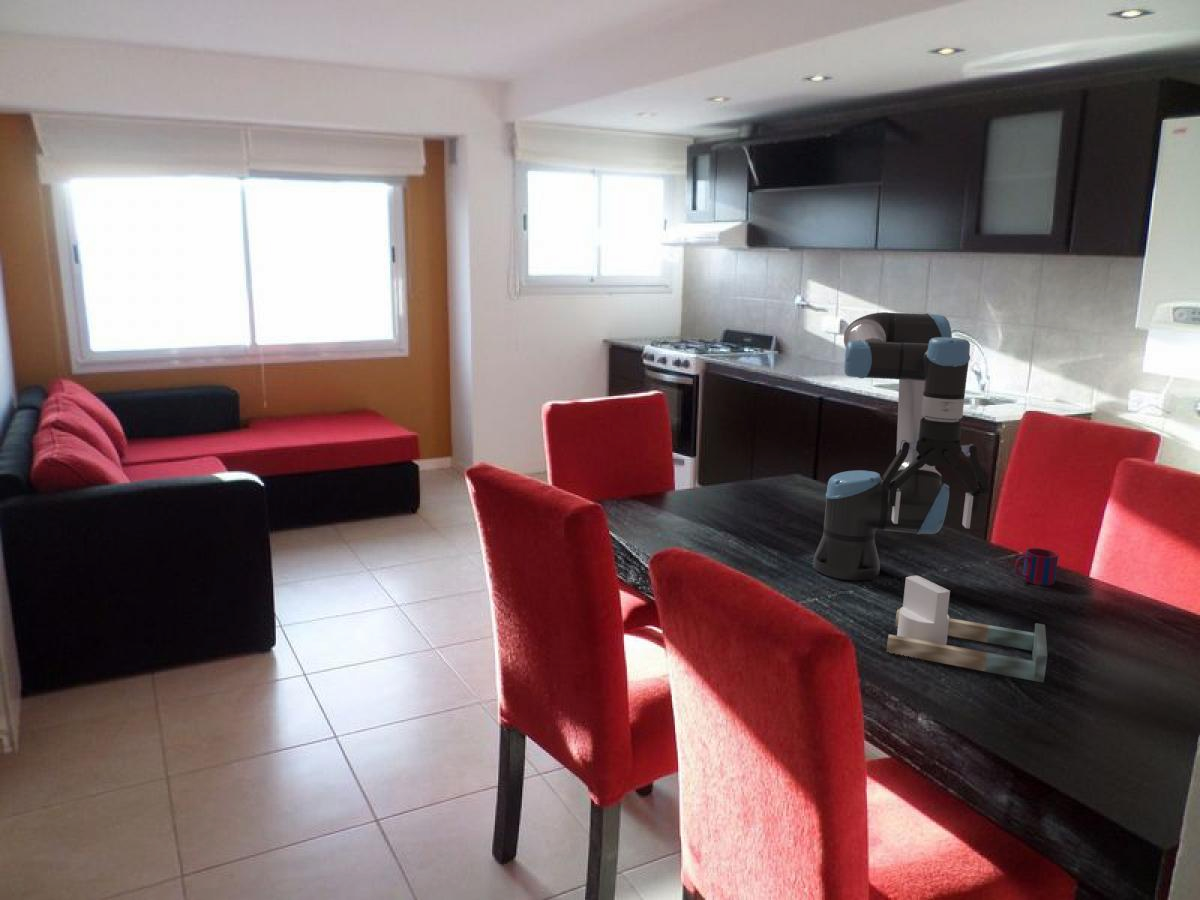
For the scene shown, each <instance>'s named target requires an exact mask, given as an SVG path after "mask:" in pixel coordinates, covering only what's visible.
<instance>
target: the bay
mask: <svg viewBox="0 0 1200 900" xmlns="http://www.w3.org/2000/svg"><path fill="white" fill-rule="evenodd" d="M899 611H900V608H898V609H897V611H896V615H895V622H894V623H895V625H894V626H895V627H898V621H899ZM948 636H949V637H953V638H959V639H967V640H969V641H970V640H972V641H977V642H982V643H988V644H993V645H998V646H1005V647H1010V648H1015V649H1019V650H1020V649H1021V650H1026V651H1032V660H1030V659H1024V658H1018V657H1014V656H1013V657H1012V656H1009V655H1003V654H997V653H993V652H986V651H981V650H977V649H970V648H965V647H961V646H959V647H958V646H955V645H948V644H946V645H944V644H939V643H934V642H928V641H923V640H917V639H912V638H907V637H901V636H897V634H895V635H894V634H888V637H887V644H886V645H887V646H886V653H887V652H889V653H888V654H893V653H895V654H894V655H898V654H900V655H899V656H903V655H904V657H908V656H909V657H910V658H913V657H914V658H913V659H918V658H919V659H920V660H924V661H929V662H930V661H931V662H935V663H940V664H946V665H948V666H949V665H951V666H956V667H960V668H961V667H962V668H966V669H971V670H976V671H981V672H987V673H992V674H997V675H1003V676H1008V677H1013V678H1017V679H1023V680H1027V681H1031V682H1032V681H1033V682H1037V683H1038V682H1039V683H1044V682H1045V677H1046V668H1047V663H1048V662H1047V661H1048V648H1047V647H1048V646H1047V645H1048V644H1047V635H1046V624H1043V623H1035V624H1034V632H1033V631H1031V632H1030V631H1025V630H1019V629H1013V628H1008V627H1003V626H996V625H990V624H984V623H980V622H974V621H968V620H962V619H957V618H956V619H955V618H950V617H949V626H948V635H947V637H948Z"/></svg>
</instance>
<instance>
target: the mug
mask: <svg viewBox="0 0 1200 900" xmlns="http://www.w3.org/2000/svg"><path fill="white" fill-rule="evenodd" d="M1023 559H1024V564H1023V570H1022V572H1023V573H1021V572H1020V570H1019V569H1020V568H1019V566H1020V562H1021V561H1022V560H1023ZM1058 560H1059V554H1058V553H1057V552H1056V551H1054V550H1050V549H1046V548H1039V547H1030V548H1027V549H1026V550H1025V555H1020V556H1018V557H1017V558H1016V559H1015V563H1014V572H1015V573H1016V574H1017V575H1018V576H1020V577H1021V578H1022V580H1023V581H1024V582H1027V583H1029V584H1032V585H1037V586H1047V587H1048V586H1054V584H1055V582H1056V581H1055V580H1056V575H1057V574H1056V573H1057V568H1058V567H1057V566H1058Z"/></svg>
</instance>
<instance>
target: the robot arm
mask: <svg viewBox="0 0 1200 900" xmlns="http://www.w3.org/2000/svg"><path fill="white" fill-rule="evenodd" d="M843 344H844V347H845V352H844V353H845V354H844V370H843V371H844V374H845V375H846V376H847V377H853V378H858V379H887V380H888V379H890V380H898V401H897V403H898V405H897V406H898V408H897V429H896V455H895V457H894V458H893V460H892V462H891V463H890V464H889V466H888V467H887V469H886V470H885V472H884V474H883V475H882V477H881V474H880V473H878V472H876V471H871V470H870V471H869V470H862V469H860V470H858V469H857V470H848V471H841V472H839V473H835V474H833V475H832V476H831V477H830V478H829V479H828V481H827V487H826V488H827V489H826V493H825V499H826V501H825V512H824V520H823V521H824V523H823V532H822V533H823V535H822V537H821V539H820V542H819V544H818V546H817V548H816V551H815V553H814V555H813V561H812V567H813V569H814V570H815V571H816V572H817V573H818V572H819V574H822V575H825V576H826V577H831V578H835V579H839V580H846V581H847V580H848V581H866V580H872V579H874V578H876V577H878V575H880V570H881V569H880V567H881V563H880V559H879V554H878V550H877V546H876V541H875V540H876V539H875V537H876V531H885V532H886V531H888V532H898V533H908V534H909V533H910V534H916V535H920V534H921V535H922V534H924V535H927V534H928V535H934V534H937V533H939V532H940V531H941V529H942V527H943V524H944V522H945V519H946V514H947V510H948V505H949V499H950V486H949V485H948V484H946V483H945V482H944V483H942V482H943V481H942V480H943V478H942V477H943V476H942V474H941V473H940V472H939V471H938V470H937V469H936V466H938V467H942V468H946V467H948V466H951V468H952V469H953V470H954V471H955V473H956V474H957V475H958V477H959V478H960V480H961V481H962V482H963V484H964V485H965V486H966V487H967V488H968V490H969V492H965V496H964V497H965V498H964V506H963V515H962V523H961V524H962V526H963V527H964V528H965V529H970V528H971V521H972V512H977V510H978V505H979V498H980V496H981V495H982V494H988V493H990V490H991V489H990V486H989V483H988V481H987V479H986V477H985V474H984V472H983V469H982V467H981V464H980V461H979V460H978V452H977V451H978V450H977V449H978V448H977V447H976V445H974V444H973V443H970V442H969V443H968V444H961V435H962V427H963V426H962V425H963V424H962V423H963V422H961V420H960V419H962V418H963V414H964V404H965V396H966V395H965V394H966V387H967V385H966V384H967V378H968V373H969V372H968V371H969V370H968V369H969V362H970V361H971V355H970V351H971V350H970V349H971V344H970V341H969V340H967V339H966V338H960V337H959V338H958V337H953V336H952V329H951V324H950V322H949V320H948V318H947V317H946V316H944V315H940V314H931V313H927V312H926V313H909V312H908V313H906V312H904V313H901V312H887V311H885V312H884V311H883V312H882V311H881V312H874V313H870V314H866V315H864V316H863V315H862V316H861V317H859V318H857V319H855V320H854V321H852V322H851V323H850V324H849V325H848V326H847V327H846V330H845V332H844V335H843ZM962 452H963V455H964V456H966V457H967V459H968V462H969V464H970V466H971V469H972V472H973V473H974V476H975V480H976V482H977V484H978V486H976V485H975V483H974V482H973V481H972V480H971V478H970V477H969V476H968V474H967V473H966V471H965V470H964V468H963V467H962V466H961V465H960V464H959V462H958V461H957V460H956V458H957V457H958V456H959V455H960V454H961V453H962Z"/></svg>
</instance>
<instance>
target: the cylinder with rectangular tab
mask: <svg viewBox="0 0 1200 900" xmlns="http://www.w3.org/2000/svg"><path fill="white" fill-rule="evenodd" d="M904 582H905V583H904V591H903V592H904V593H903V602H902V607H900V608H899V609H900V611H899V621H898V626H897V630H896V631H897V633H896V636H901V637H907V638H912V639H917V640H923V641H928V642H934V643H939V644H944V645H948V644H947V642H948V626H949V618H950V615H949V614H948V612H949V604H950V596H951V595H950V594H951V590H949V589H947V588H945V587H943V586H942V585H938V584H937V583H935V582H932V581H931V580H928V579H926V578H924V577H922V576H920V575H910V576H906V577H905V581H904Z"/></svg>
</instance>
